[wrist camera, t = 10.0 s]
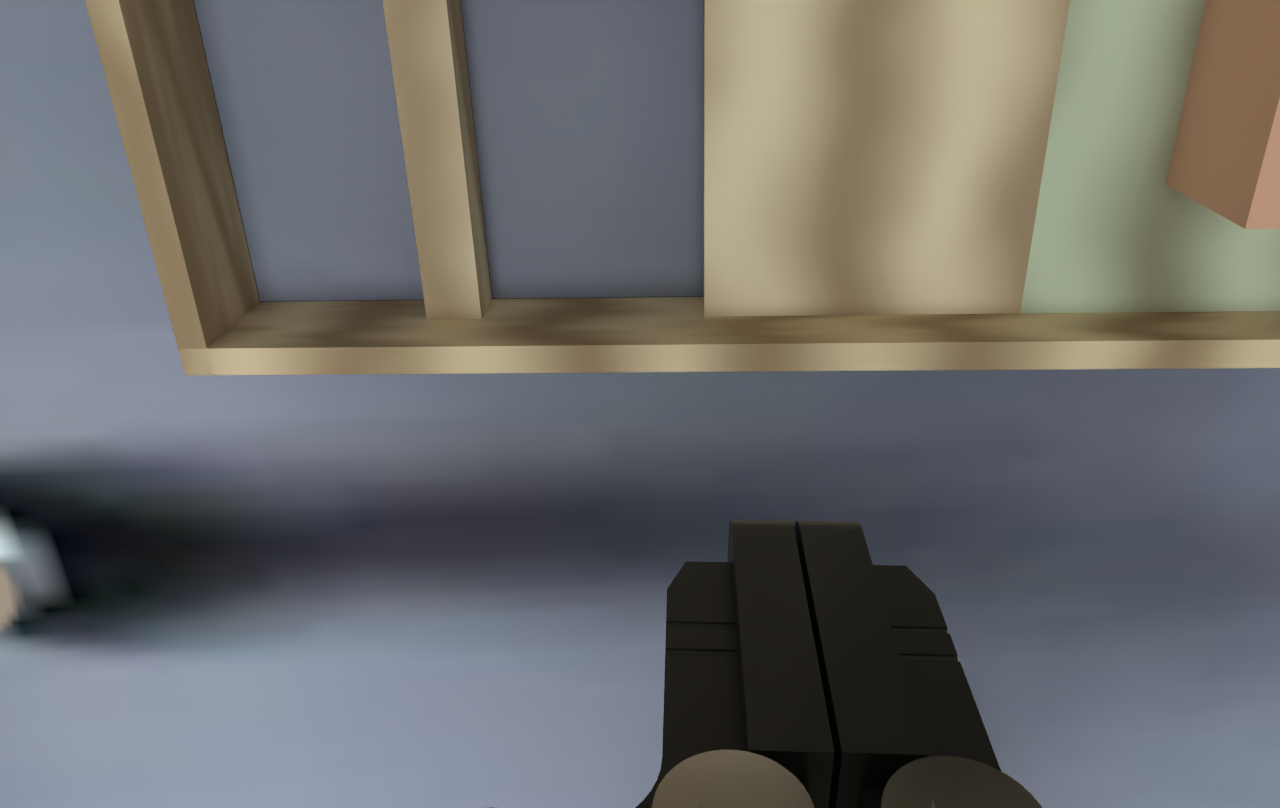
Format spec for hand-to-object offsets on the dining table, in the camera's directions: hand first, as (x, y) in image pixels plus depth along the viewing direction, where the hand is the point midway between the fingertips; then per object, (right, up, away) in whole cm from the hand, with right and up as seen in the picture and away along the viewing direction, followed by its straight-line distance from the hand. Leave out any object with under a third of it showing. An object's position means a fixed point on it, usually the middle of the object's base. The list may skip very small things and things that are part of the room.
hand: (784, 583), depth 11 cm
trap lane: (+2, +12, +21) cm, 25 cm away
